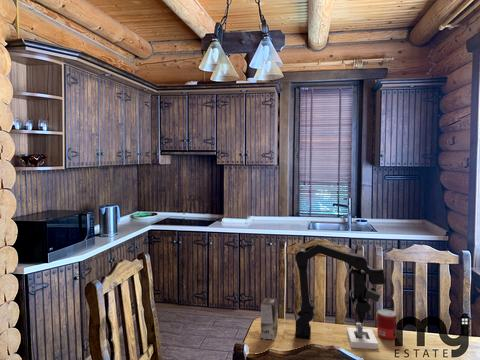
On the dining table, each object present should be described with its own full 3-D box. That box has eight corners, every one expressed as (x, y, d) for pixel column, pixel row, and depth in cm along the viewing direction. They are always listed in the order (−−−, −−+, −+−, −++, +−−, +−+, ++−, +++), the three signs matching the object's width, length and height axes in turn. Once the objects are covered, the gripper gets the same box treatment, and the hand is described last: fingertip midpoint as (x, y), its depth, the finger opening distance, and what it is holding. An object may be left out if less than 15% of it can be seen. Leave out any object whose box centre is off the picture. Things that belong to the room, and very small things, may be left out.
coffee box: (274, 341, 157) (274, 305, 156) (260, 339, 159) (260, 304, 158) (278, 332, 166) (277, 298, 165) (264, 330, 167) (264, 297, 167)
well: (351, 347, 150) (351, 341, 150) (346, 332, 164) (346, 327, 164) (378, 349, 149) (378, 343, 148) (371, 334, 162) (371, 328, 162)
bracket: (357, 343, 154) (357, 327, 154) (356, 337, 159) (355, 322, 159) (367, 343, 154) (367, 327, 153) (365, 338, 158) (365, 323, 158)
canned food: (398, 341, 156) (398, 316, 156) (379, 339, 157) (379, 315, 157) (394, 333, 163) (394, 309, 163) (376, 331, 165) (376, 308, 165)
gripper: (383, 291, 145) (383, 328, 146) (374, 277, 164) (374, 311, 164) (355, 290, 147) (356, 327, 148) (349, 277, 166) (349, 309, 166)
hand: (359, 318), depth 156 cm, fingers open, 9 cm apart
